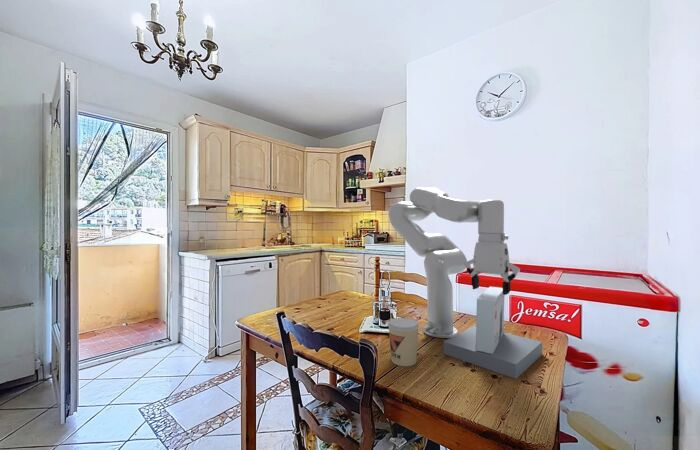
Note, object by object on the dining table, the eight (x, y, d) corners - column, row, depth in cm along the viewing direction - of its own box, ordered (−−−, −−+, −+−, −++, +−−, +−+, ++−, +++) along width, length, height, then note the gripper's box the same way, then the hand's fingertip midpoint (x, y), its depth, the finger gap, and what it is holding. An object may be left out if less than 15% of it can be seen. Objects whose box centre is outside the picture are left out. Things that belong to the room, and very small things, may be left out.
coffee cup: (383, 357, 97) (382, 319, 97) (407, 351, 101) (407, 315, 101) (399, 370, 89) (398, 329, 88) (425, 363, 92) (424, 324, 92)
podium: (516, 379, 83) (516, 364, 82) (443, 353, 99) (443, 341, 99) (542, 354, 97) (542, 341, 97) (475, 335, 114) (475, 325, 114)
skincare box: (495, 355, 88) (494, 300, 88) (475, 351, 91) (474, 298, 91) (505, 332, 105) (505, 287, 105) (488, 330, 109) (488, 285, 108)
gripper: (524, 239, 94) (523, 294, 94) (470, 236, 107) (470, 284, 107) (514, 240, 89) (514, 298, 89) (459, 237, 102) (459, 288, 102)
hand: (490, 291), depth 98 cm, fingers open, 9 cm apart
